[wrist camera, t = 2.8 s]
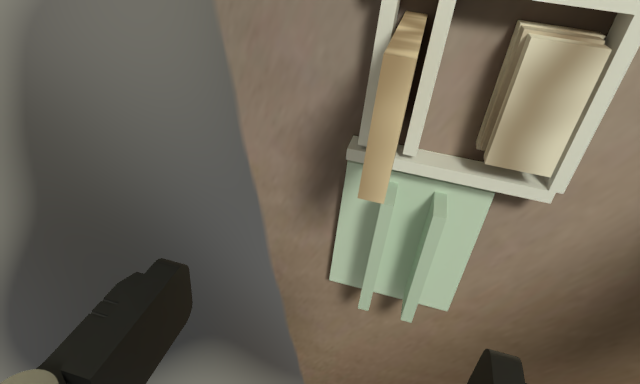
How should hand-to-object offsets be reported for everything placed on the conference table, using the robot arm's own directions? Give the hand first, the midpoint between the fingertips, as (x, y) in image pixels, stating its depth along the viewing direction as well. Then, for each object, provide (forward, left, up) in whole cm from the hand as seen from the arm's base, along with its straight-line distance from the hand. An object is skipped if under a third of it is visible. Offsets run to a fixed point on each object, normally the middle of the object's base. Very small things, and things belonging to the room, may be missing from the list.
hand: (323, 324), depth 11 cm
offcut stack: (-9, 0, -24) cm, 26 cm away
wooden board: (0, 0, -24) cm, 24 cm away
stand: (-3, +15, -24) cm, 29 cm away
